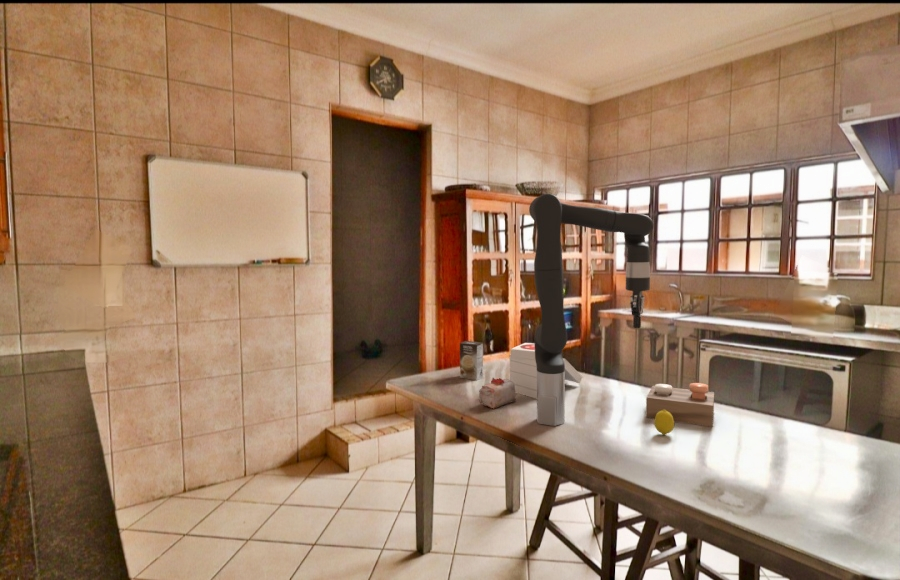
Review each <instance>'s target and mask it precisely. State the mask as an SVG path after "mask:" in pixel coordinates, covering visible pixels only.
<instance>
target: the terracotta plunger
mask: <svg viewBox="0 0 900 580" xmlns="http://www.w3.org/2000/svg"><path fill="white" fill-rule="evenodd" d="M689 390H690V391H691V392H692V398H695V399H704V400H705V393H708V392H709V385H708V384H706V383H703V382H702V383H701V382H693V383H692V382H691V383H689Z"/></svg>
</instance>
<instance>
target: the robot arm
mask: <svg viewBox="0 0 900 580" xmlns="http://www.w3.org/2000/svg"><path fill="white" fill-rule="evenodd" d="M528 209H529V210H528V212H529V215H530V218H531V219H532V220H534V221H535V223H536V232H537V243H536V247H535V248H536V249H535V255H534V261H533V262H534V263H533V270H534V271H533V273H534V275H533V276H534V285H535V291H536V295H537V298H538V299H537V300H538V302H539V306H540V312H541V313H540V314H541V323H540V324H539V325H538V326H537V327H536V330H535V332H534V344H535V361H536V366H537V399H536V421H537V424H540V425H546V426H551V427H557V426H559V425H562V424H564V423H565V422H566V420H565V418H566V417H565V414H566V408H565V407H566V405H565V401H566V399H565V396H566V395H565V394H566V392H565V391H566V388H565V386H566V384H565V382H566V380H565V364H564V361H563V350H564V349H565V347H566V345H567V342H568V332H567V331H568V330H567V326H566V320H565V319H566V318H565V312H564V305H565V304H564V301H565V300H564V294H565V293H564V292H565V291H564V262H563V252H562V251H563V250H562V240H561V230H562V229H561V228H562V227H561V226H562V224H566V225H573V226H579V227H584V228H589V229H594V230H598V231H603V232H604V231H605V232H609V233H622V234H624V240H625V245H626V266H625V290H626V291H629V292H630V291H632V295H631V296H630V298H629V300H630V302H629V304H630V310H631V316H632V317H633V319H632V320H633V321H632V322H633V325H632V326H633V328H634V329H641V328H642V316H643V313H644V305H645V295H644V293H643V292H647V291H650V289H651V267H650V253H651V252H650V247H649V245H647V244H646V236H648V235H649V234H651V233H652V232H653V229H654V225H655V224H654V221H653V219H652V218H651V217H649V215H646V214H643V213H634V212H622V211H617V210H615V209H608V208H602V207H592V206H580V205H579V206H578V205H573V204H566V203H563V202H561V200H560V199H559V198H558V196H556V195H555V194H552V193H543V194H541V195H539V196H537V197H535V198H534V199H533V200H532V201H531V202H530V205H529V207H528Z"/></svg>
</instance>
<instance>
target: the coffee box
mask: <svg viewBox="0 0 900 580" xmlns="http://www.w3.org/2000/svg"><path fill="white" fill-rule="evenodd" d="M459 378H460V379H466V380H473V381H478V380H480V379H482V378H484V342H479V341H473V340H465V341H462V342H459Z"/></svg>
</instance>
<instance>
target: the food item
mask: <svg viewBox="0 0 900 580" xmlns="http://www.w3.org/2000/svg"><path fill="white" fill-rule="evenodd" d="M516 399H517V398H516V392H515V385H514V382H513V381H511V380H510V378H504V379H502V378H495V377H492V378H491V380H490V382H489V383H486V384H484V385H482V386H481V388H480V389H478V402H480V404H482V405H484V406H485V405H486V406H485V407H487V406H488V407H487V408H489V409H492V408H493V409H497V408H499V407H501V405H502V406H504V405H508V404H510V403H514V402H516ZM496 407H497V408H496ZM493 409H492V410H493Z"/></svg>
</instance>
